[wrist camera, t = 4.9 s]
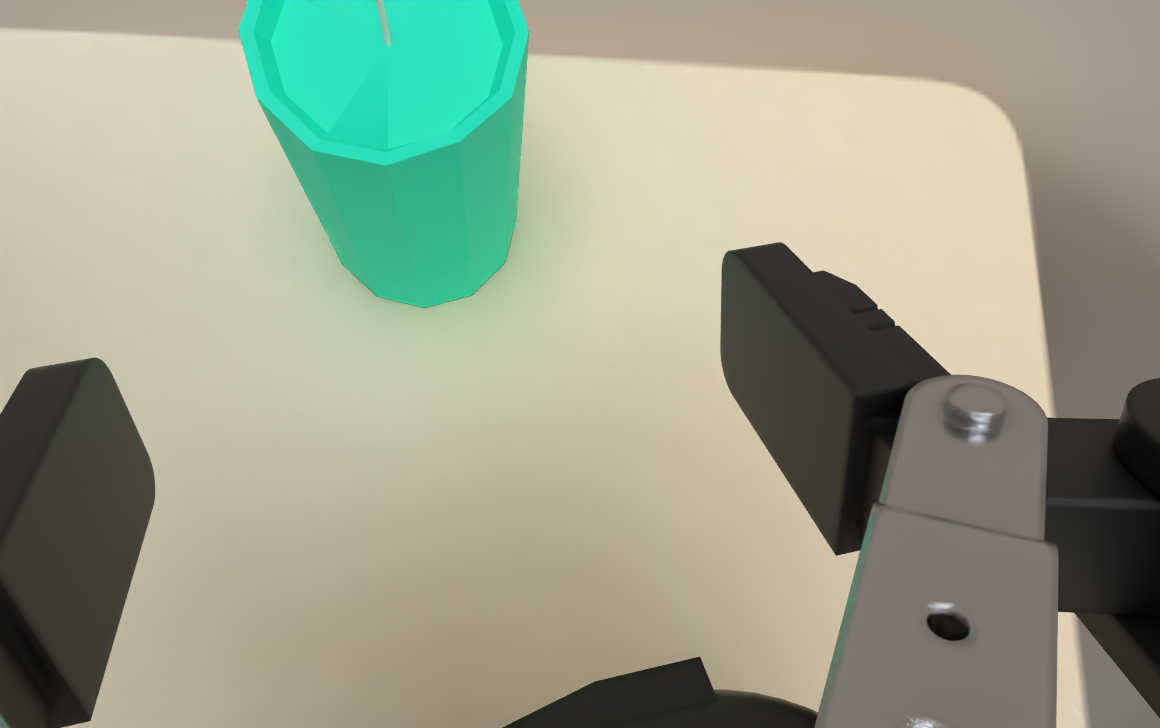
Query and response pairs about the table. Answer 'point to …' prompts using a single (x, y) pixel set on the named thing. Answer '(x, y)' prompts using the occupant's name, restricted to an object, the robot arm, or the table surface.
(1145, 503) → the robot arm
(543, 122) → the table surface
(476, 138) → the candle
